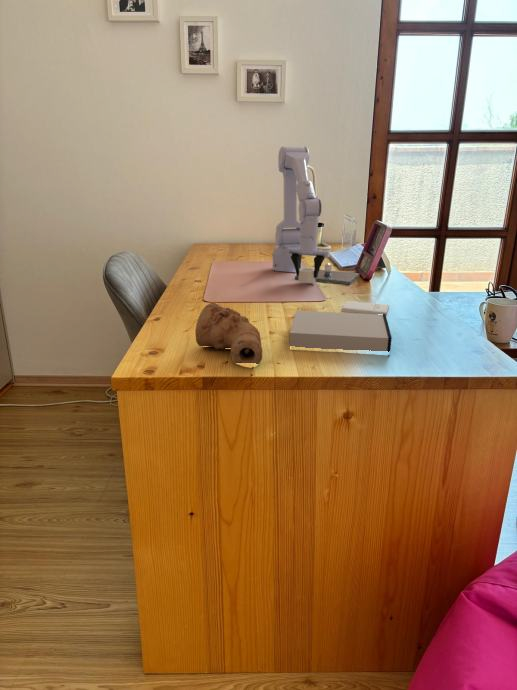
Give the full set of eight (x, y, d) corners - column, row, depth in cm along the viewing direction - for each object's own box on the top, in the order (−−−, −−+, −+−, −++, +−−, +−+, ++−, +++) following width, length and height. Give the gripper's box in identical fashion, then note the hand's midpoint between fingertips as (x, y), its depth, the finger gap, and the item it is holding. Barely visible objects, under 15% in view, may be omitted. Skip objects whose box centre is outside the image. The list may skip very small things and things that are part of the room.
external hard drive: (346, 305, 152) (389, 309, 148) (341, 313, 144) (386, 317, 141) (346, 300, 151) (389, 304, 147) (342, 307, 144) (386, 311, 140)
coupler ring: (296, 282, 172) (296, 270, 171) (301, 278, 177) (302, 267, 176) (312, 283, 170) (312, 272, 169) (317, 280, 175) (317, 268, 174)
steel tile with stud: (295, 279, 180) (295, 264, 178) (307, 271, 192) (307, 257, 191) (350, 284, 173) (351, 269, 171) (359, 276, 185) (360, 261, 183)
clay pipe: (252, 353, 123) (193, 335, 122) (266, 313, 120) (205, 294, 118) (253, 384, 106) (183, 364, 104) (269, 338, 102) (198, 316, 100)
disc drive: (390, 358, 112) (392, 337, 111) (289, 352, 116) (289, 331, 114) (384, 332, 129) (385, 313, 127) (295, 327, 132) (296, 309, 130)
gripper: (284, 236, 167) (283, 276, 172) (326, 239, 162) (324, 281, 167) (291, 233, 173) (290, 272, 178) (332, 236, 168) (330, 276, 173)
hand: (307, 276), depth 173 cm, fingers closed on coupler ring, 6 cm apart
